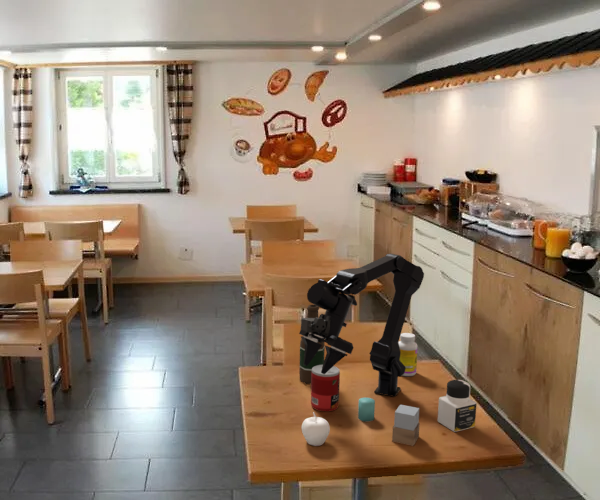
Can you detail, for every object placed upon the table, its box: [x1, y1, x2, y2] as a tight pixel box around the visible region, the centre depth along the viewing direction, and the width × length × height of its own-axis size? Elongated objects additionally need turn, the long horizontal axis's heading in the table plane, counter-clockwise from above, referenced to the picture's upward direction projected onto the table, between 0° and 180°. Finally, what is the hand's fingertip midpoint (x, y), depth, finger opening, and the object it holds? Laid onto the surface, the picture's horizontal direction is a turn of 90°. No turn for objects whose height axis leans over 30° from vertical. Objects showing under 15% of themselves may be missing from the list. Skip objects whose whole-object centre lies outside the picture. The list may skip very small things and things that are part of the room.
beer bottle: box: [298, 304, 326, 385], centre depth 201 cm, size 8×8×24 cm
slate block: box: [393, 404, 420, 431], centre depth 165 cm, size 5×5×4 cm
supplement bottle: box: [398, 332, 419, 377], centre depth 209 cm, size 7×7×13 cm
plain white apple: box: [301, 411, 331, 447], centre depth 162 cm, size 7×7×8 cm
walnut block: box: [391, 422, 420, 447], centre depth 165 cm, size 6×6×4 cm
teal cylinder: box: [357, 397, 376, 423], centre depth 177 cm, size 4×4×5 cm
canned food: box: [310, 365, 341, 412], centre depth 183 cm, size 8×8×11 cm
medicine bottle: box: [437, 379, 477, 433], centre depth 173 cm, size 7×7×12 cm
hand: (313, 369), depth 173 cm, fingers open, 9 cm apart
